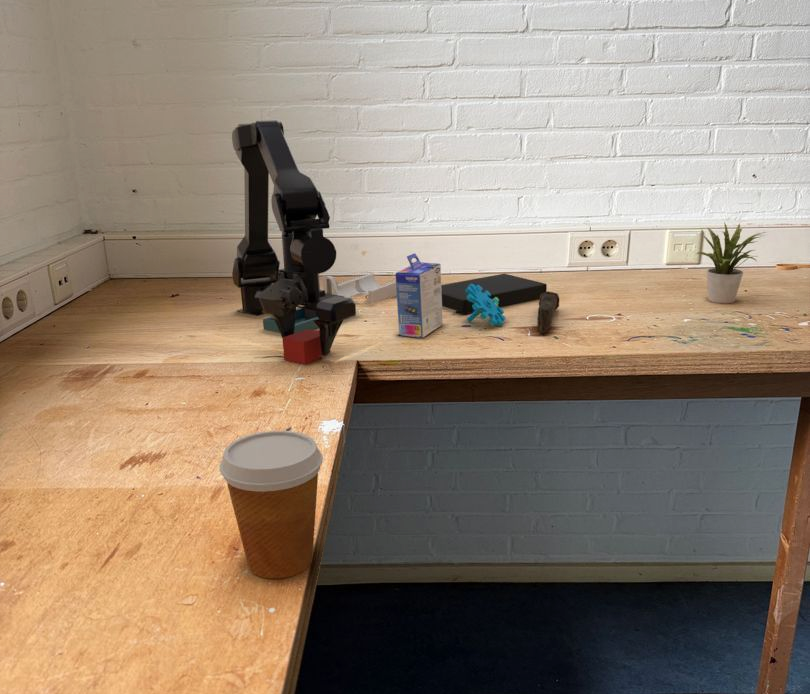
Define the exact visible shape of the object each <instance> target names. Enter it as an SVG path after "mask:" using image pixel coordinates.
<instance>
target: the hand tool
mask: <svg viewBox="0 0 810 694" xmlns="http://www.w3.org/2000/svg"><path fill="white" fill-rule="evenodd" d="M538 300H539V301H538V310H537V329H538V331H539V332H540V333H541V334H545V333H547V332H548V331H549V330H550V329H551V327H552V322H553V319H554V317H555V313H556V311H557V309H558V308H559V307H560V295H559V294H558V292H553V291H549V290H548V291H546V292H544V293H542V294H541V295H540V297H539V299H538Z"/></svg>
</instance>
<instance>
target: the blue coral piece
mask: <svg viewBox="0 0 810 694" xmlns="http://www.w3.org/2000/svg"><path fill="white" fill-rule="evenodd" d="M481 290H482V287H481V286H479V285H477V286H476V287H475V285H474V284H470V285H469V286H468V288H467V289H466V290H465V292H466V293H467V294H469V295H468V296H467V300H468V301H470V302H473V303H474V304H473V305H472V307H473V309H474V310H475V311H474V312H472V313H470V315H469V316H467V318H466V321H467V322H468V323H472V322H473V321H474V320H475V319H477V317H481V319H483V320H484V321H485V320H486V319H488V318H489V319H488V323H489V324H491V325H492V326H495V325H497V327H501V326H502V325H503V324H504V321H505V320H507V319H506V317H505V316H504V313H505V311H504V309H503V308H502V307H498V304H499V303H498V301H499V299H498V298H497V297H495V298H494V299H490V298H489V296H491V294H490V293H489V292H488V291H487V290H486V291H485V292H484V293H482V292H481Z"/></svg>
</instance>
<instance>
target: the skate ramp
mask: <svg viewBox="0 0 810 694" xmlns="http://www.w3.org/2000/svg"><path fill="white" fill-rule="evenodd" d="M360 274H361V275H360ZM321 279H322V290H325V293H327V294H333V295H339V296H344V297H346V298H351V297H354V296H357V295H359V294H364V295H367V297H366V299H365V300H364V301H363V304H364V303H366V304H372V305H373V304H375V303H377V302H380V301H383V300H385V299H388V298H390V299H393V298H396V297H397V290H396V278H394V279H392V280H391V281H387V282H383V283H382V284H379V283H378V282H377V281H376V277H375V273H374V271H369V270H368V271H364V272H362V273H359V274H356V275H352V276H350V277H347V278H344V279H340V280H338V282H337V281H336V280H335V278H334V277H333V276H332V275H331V274H326V275H322V277H321ZM348 279H349V280H348Z"/></svg>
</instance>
